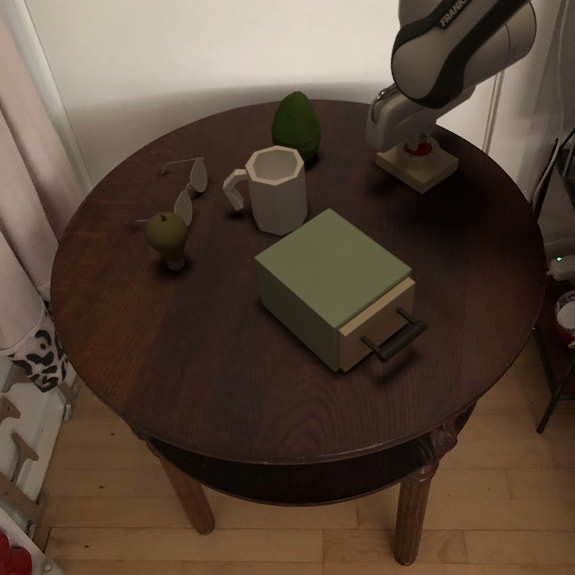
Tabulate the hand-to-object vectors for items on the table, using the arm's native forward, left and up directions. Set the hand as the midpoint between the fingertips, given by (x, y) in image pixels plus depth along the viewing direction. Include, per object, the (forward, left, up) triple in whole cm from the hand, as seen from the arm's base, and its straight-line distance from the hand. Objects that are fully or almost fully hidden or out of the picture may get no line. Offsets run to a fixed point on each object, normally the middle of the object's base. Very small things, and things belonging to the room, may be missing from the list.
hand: (417, 145), depth 96 cm
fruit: (+15, +12, -4) cm, 20 cm away
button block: (0, 0, -4) cm, 4 cm away
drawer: (-16, +29, -3) cm, 33 cm away
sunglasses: (+21, +33, -4) cm, 39 cm away
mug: (+8, +24, -4) cm, 26 cm away
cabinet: (-12, +29, -4) cm, 32 cm away
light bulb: (+9, +40, -4) cm, 41 cm away
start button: (0, 0, -2) cm, 2 cm away
